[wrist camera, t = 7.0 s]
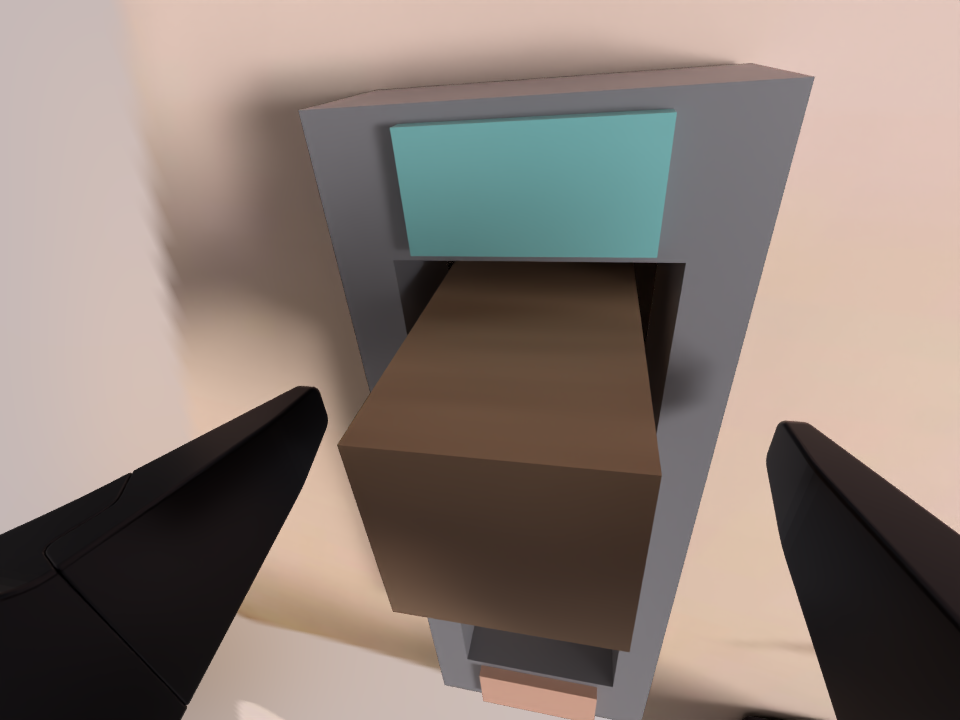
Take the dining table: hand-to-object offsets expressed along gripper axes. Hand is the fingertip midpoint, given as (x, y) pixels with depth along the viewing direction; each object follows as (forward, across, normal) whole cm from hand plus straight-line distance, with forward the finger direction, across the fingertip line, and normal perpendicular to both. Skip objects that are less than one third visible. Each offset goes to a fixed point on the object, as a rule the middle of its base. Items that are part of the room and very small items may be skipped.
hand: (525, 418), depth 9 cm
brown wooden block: (+5, 0, 0) cm, 5 cm away
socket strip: (+5, 0, +6) cm, 7 cm away
